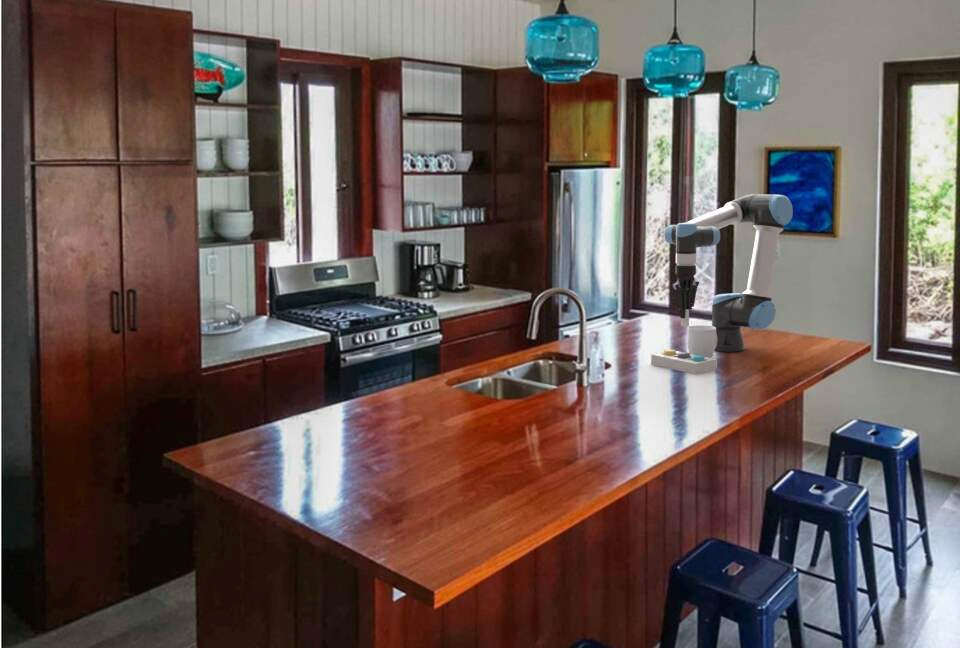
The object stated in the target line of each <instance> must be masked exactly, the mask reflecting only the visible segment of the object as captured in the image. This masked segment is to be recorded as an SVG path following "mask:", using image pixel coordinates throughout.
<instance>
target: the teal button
mask: <svg viewBox="0 0 960 648" xmlns="http://www.w3.org/2000/svg"><path fill="white" fill-rule="evenodd" d="M691 360H692V361H696V362H702V361H705V356H702V355H693V356H692V358H691Z"/></svg>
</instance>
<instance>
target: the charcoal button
mask: <svg viewBox="0 0 960 648" xmlns="http://www.w3.org/2000/svg"><path fill="white" fill-rule="evenodd" d="M677 358H682V359H687V358H690V353H689V352H684V351H679V353H677Z"/></svg>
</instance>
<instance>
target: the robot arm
mask: <svg viewBox="0 0 960 648" xmlns="http://www.w3.org/2000/svg"><path fill="white" fill-rule="evenodd" d="M793 211H794V210H793V205H792V202H791V200H790V199H789V198H788V197H787V196H786V195H783V194H775V193H773V194H772V193H771V194H769V193H767V194H764V193H763V194H762V193H761V194H759V193H757V194H756V193H752V194H748V195H744V196H742V197H738V198H736V199H734V200H731V201H728V202H726V203H725V204H724V206H723V207H720V208H717V209H715V210H713V211H711V212H708V213H706V214H703V215H700V216H698V217H696V218H693V219H691V220H689V221H686V222H679V223H677V224H670V225H668V226H667V227H665V229H664V233H663V236H664V240H665V242H667V244H671V245H672V244H673V246H674V245H675V264H676V265H675V270H674V271H675V272H674V273H675V276H677V277H676V282H674V283H672V284H671V288H672V290H673V296H674V303H675V308H676V309H678V310H679V317H680V327H684V328H688V327H689V326H690V325H689V324H690V315H691V311H690V310H693V307H694V306H695V301H696V296H697V291H698V286H699V284H700V282H699V281H697V280H695V279H696V278H695V276H696V275H697V266H696V264H697V248H704V247H707V248H708V247H709V248H710V247H713V246H716V245H718V243H719V242H720V240H721V232H720V229H722V228H725V227H728V226H729V225H733V226H735V225H738V224H741V223H742V224H743V223H744V224H745V223H749V224H750V223H752V224H753V229H755V230H756V231H755V237H754V244H753V250H752V256H751V261H750V267H749V273H748V280H747V284H746V285H747V287H746V290H744V291H742V292H741V293H740V292H739V293H738V292H737V293H736V292H735V293H720V294H716V295H714V296H713V298H712V305H711V308H712V309H711V326H713V327H716V335H717V346H716V348H715V350H714V352H715V351H716V352H724V353H725V352H727V353H729V352H731V353H732V352H740V351H744V350H745V342H744V338H743V335H742V332H741V331H742V329H741V328H748V329H752V330H766V329H767V328H768V327H770V325H771V324H773V322H774V320H775V318H776V312H777V308H776V305H775V304H774V303H773V302H772V295H771V294H770V287H771V281H772V275H773V270H774V263H775V257H776V251H777V245H778V241H779V240H778V239H779V235H780V233H781V232H783V231H784V228H785V225H788V224H789V223H790V221H791V220H792V219H793V215H794V214H793V213H794V212H793Z"/></svg>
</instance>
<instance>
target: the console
mask: <svg viewBox="0 0 960 648" xmlns="http://www.w3.org/2000/svg"><path fill="white" fill-rule="evenodd" d="M679 352H680V350H679V351H677V350H676V355H673V356H668V355H663V351H661V352H656V353H652V354H650V355H651V356H650V365H651V366H657V367H661V368H665V369H670V370H675V371H679V372H683V373H688V374H692V375H699V374H702V373H708V372H713V371H717V368H718V359H717V358H712V357H711V358H708V357H705V361H702V362H696V361H692V360H691V358H692V356H693V354H690V358H687V359H682V358H677V353H679Z"/></svg>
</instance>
